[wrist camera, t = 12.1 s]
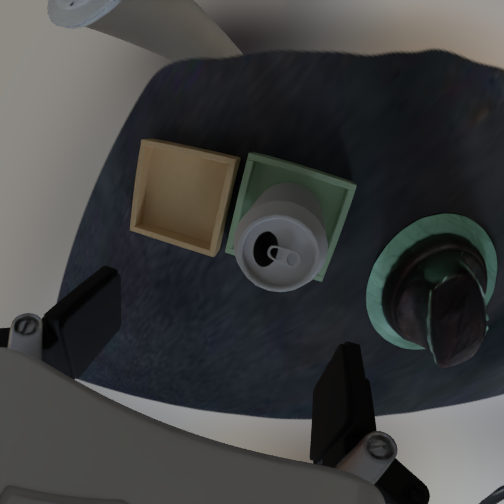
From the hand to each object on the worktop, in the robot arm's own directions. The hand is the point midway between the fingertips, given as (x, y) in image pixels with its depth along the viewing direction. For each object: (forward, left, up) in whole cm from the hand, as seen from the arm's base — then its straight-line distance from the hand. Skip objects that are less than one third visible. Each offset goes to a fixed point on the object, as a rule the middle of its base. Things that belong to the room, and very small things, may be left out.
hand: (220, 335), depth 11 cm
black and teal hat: (+4, +23, -24) cm, 33 cm away
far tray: (+2, -11, -23) cm, 26 cm away
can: (+1, +1, -23) cm, 23 cm away
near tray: (+1, +1, -23) cm, 23 cm away
